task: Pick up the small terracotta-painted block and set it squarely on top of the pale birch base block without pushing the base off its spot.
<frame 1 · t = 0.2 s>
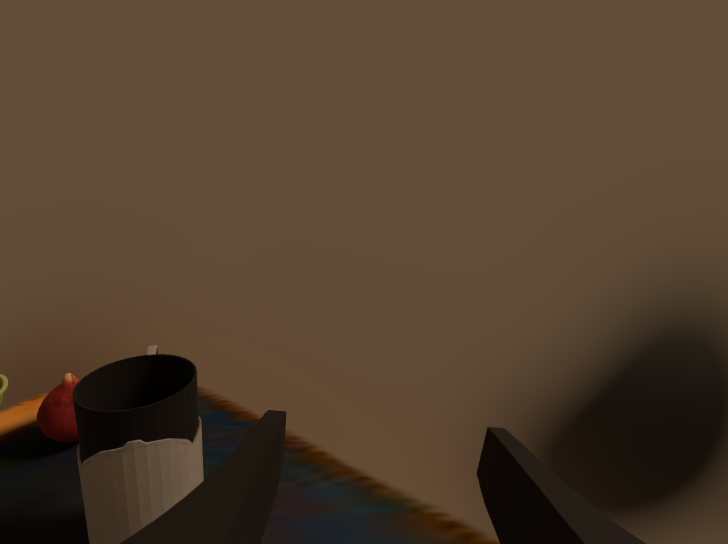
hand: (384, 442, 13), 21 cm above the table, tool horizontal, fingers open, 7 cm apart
onion: (78, 441, 39), on the table
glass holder: (156, 515, 32), on the table
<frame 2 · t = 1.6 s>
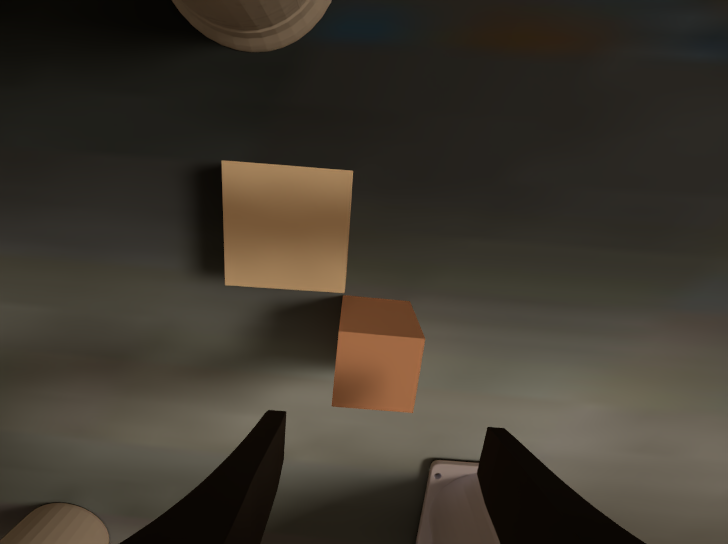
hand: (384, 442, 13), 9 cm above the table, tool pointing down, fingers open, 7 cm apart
painted block: (372, 328, 22), on the table
coffee cup: (69, 531, 26), on the table
birch base: (296, 222, 20), on the table
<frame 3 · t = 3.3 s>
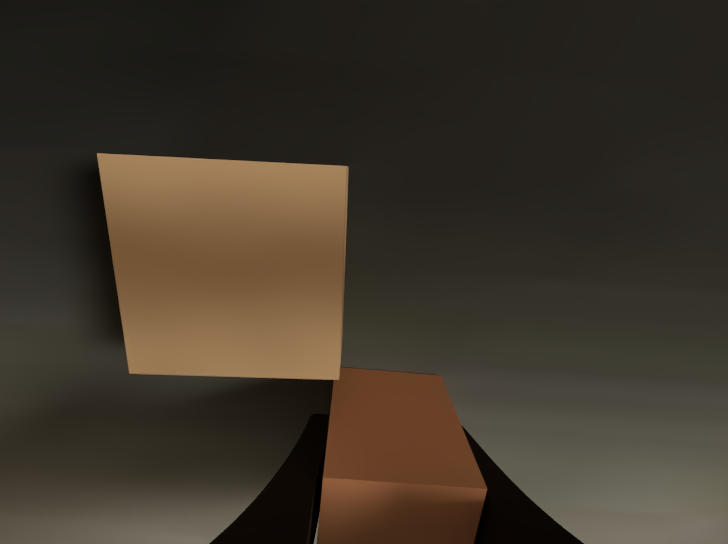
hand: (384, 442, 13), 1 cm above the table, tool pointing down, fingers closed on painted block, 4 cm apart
painted block: (381, 416, 14), on the table, touching gripper
birch base: (259, 252, 12), on the table
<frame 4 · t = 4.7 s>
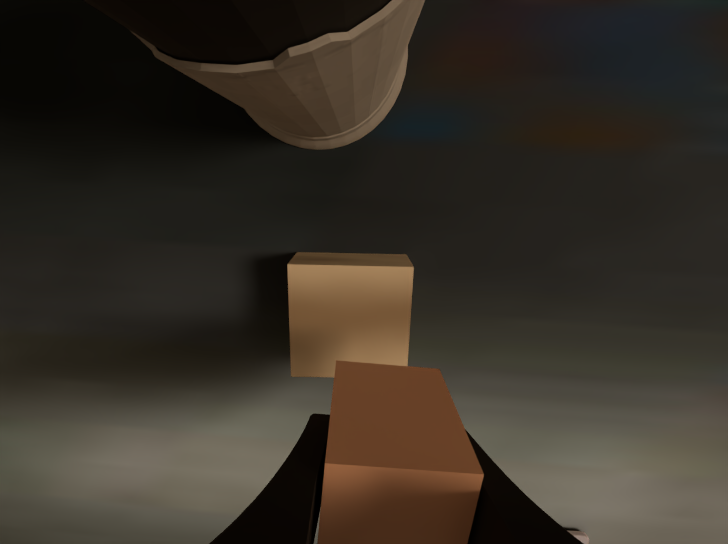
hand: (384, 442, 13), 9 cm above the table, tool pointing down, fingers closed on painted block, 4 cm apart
painted block: (381, 409, 14), point 7 cm above the table, touching gripper
birch base: (351, 302, 21), on the table
when the fingers open (5 cm above the table, at t = 6.2 s): painted block drops 1 cm, resting on birch base.
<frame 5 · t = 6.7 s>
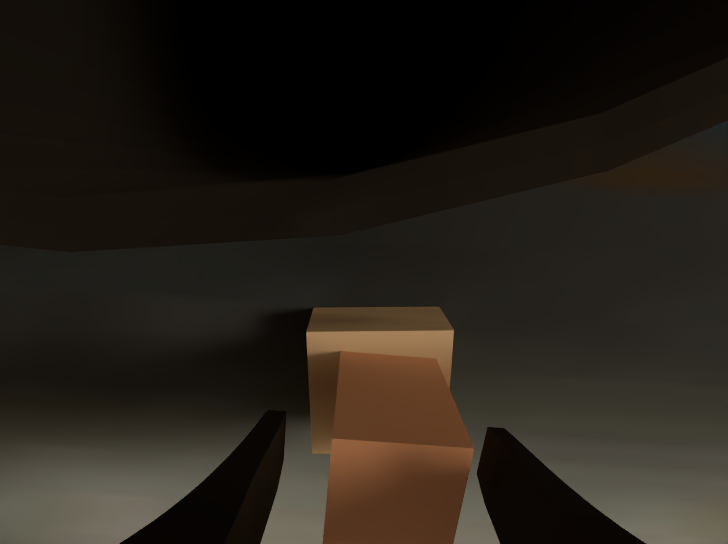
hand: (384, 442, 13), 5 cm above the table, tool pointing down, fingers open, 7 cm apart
painted block: (383, 396, 15), point 3 cm above the table, touching birch base
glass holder: (318, 6, 14), on the table
birch base: (375, 359, 18), on the table, touching painted block
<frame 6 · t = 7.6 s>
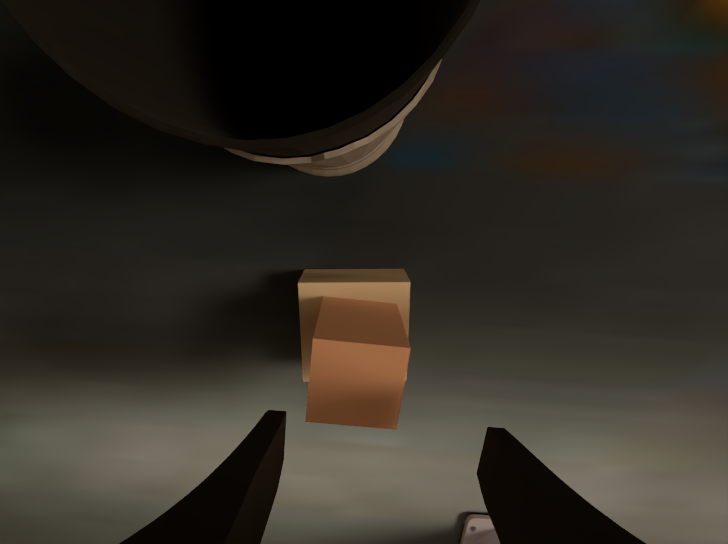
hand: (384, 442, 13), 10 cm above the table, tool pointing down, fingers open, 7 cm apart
painted block: (356, 333, 20), point 3 cm above the table, touching birch base
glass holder: (308, 35, 18), on the table
birch base: (354, 312, 23), on the table, touching painted block
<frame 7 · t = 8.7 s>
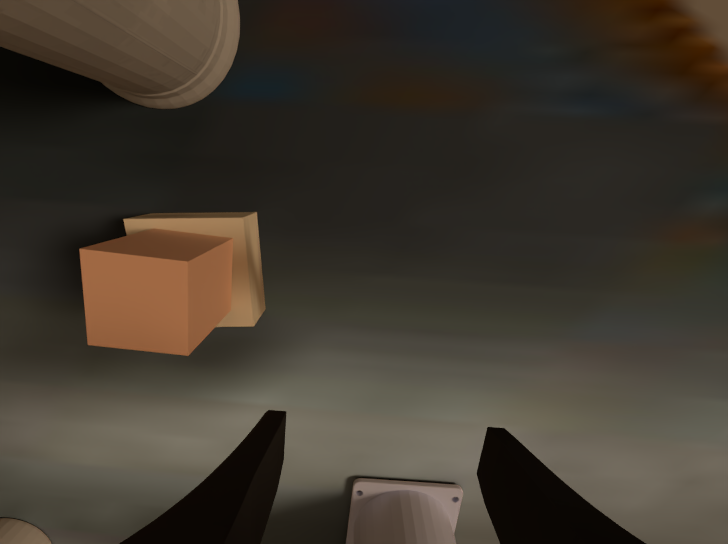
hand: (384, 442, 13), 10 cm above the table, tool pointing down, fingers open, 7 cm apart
painted block: (193, 270, 19), point 3 cm above the table, touching birch base
birch base: (213, 261, 22), on the table, touching painted block
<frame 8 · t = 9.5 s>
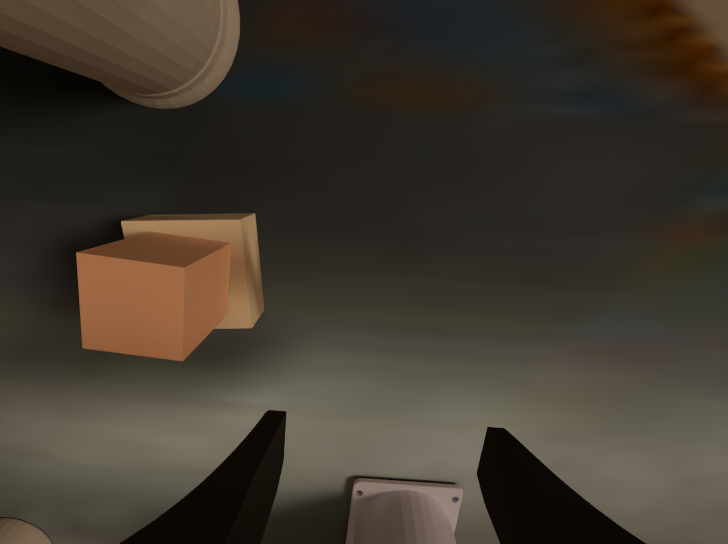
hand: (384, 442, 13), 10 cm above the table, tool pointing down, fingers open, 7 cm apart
painted block: (191, 274, 19), point 3 cm above the table, touching birch base
birch base: (211, 262, 22), on the table, touching painted block
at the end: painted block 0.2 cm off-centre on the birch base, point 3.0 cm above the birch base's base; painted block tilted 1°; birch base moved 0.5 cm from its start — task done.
